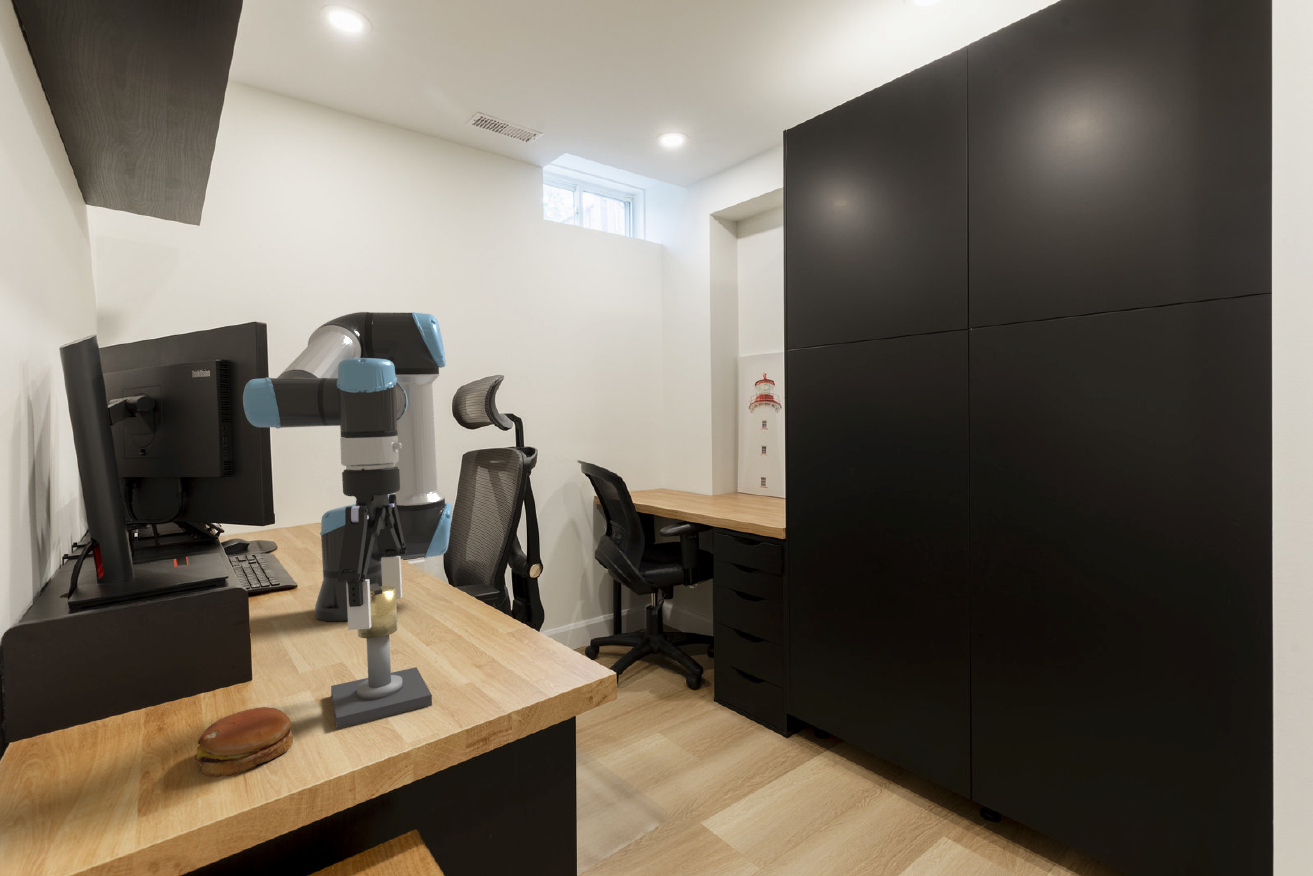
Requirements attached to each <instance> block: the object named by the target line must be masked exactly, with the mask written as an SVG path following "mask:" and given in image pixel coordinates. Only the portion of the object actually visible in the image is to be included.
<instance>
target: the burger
mask: <svg viewBox="0 0 1313 876" xmlns="http://www.w3.org/2000/svg"><path fill="white" fill-rule="evenodd" d="M291 727H292V721H291V718H289V716H288V715H287V714H286V713H285V712H284V711H282V710H280V709H277V708H274V707H268V706H263V707H254V708H250V709H245V710H240V711H238V712H235V713H232V714H229V715H226V716H223V717H222V718H220V719H217V720H216V721H215V722H212V723H211V725H209V726H208V727H207V728H206V729H205V730H204V731H203V733H202V734H201V735H200V737H199V739H198V741H197V744H198V746H197V748H196V750H197V752H196V754H195V755H194V761H196V762H197V763H198V764H199V765H200V771H201V773H202V774H204V775H206V776H210V777H222V776H225V777H227V776H231V775H237V774H240V773H244V772H245V771H248V770H250V769H253V768H255V767H256V766H257V765H261V764H263V763H266V762H271V760H273V759H276V758H277V757H279V756H280V755H283V754H284V753H287V751H289V750H290V748H291V747H292V745H293V740H294V738H293V732H292V731H291Z"/></svg>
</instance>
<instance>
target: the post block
mask: <svg viewBox="0 0 1313 876" xmlns="http://www.w3.org/2000/svg"><path fill="white" fill-rule="evenodd" d="M390 644H391V643H390V635H387V636H384V637H379V638H366V655H367V656H366V657H367V658H366V659H367V660H366V661H367V677H365V678H360V679H357V680H351V681H349V682H342V683H338V684H333V685H331V686H330V691H331V692H330V693H331V696H330V697H331V702H332V706H333V707H332V708H333V714H334V719H335V727H336V730H340V729H344V728H347V727H351V726H356V725H360V724H363V723H367V722H371V721H374V720H379V719H384V718H387V717H390V716H394V715H398V714H402V713H407V712H412V711H414V710H419V709H422V708H426V707H430V706H432V705H433V698H432V697H433V694H432V693H431V691H430V689H429V687H428V685H427V684H426V682H425V680H424V678H423V677H422V675H421V673H420V671H419V669H418V667H417V666H416V667H411V668H406V669H401V670H397V671H392V670H391V668H392V667H391V645H390Z"/></svg>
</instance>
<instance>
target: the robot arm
mask: <svg viewBox="0 0 1313 876" xmlns="http://www.w3.org/2000/svg"><path fill="white" fill-rule="evenodd" d="M442 337H443V336H442V333H441V327H440V324H439V321H438V319H437V318H436V317H435V316H434V315H433V314H430V313H422V312H414V311H413V312H374V311H373V312H369V311H359V312H358V311H357V312H352V313H348V314H345V315H341V316H339V317H336V318H334V319H331V320H329V321H327V322H325V323H323V324H321V326H319V327H318V328H316V329H315V330H314V331H313V332H312V333H311V334H310V336H309V337H308V341H307V347H306V348H305V349H304V350H303V351H302V352H301V353H300V354H299V355H298V356H297V357H296V358H295V359H294V360H293V361H292V362H291V363H290V364H289V365H288V366H287V367H286V368H285V369H284V371H282V372H281V373H280V374H279V375H278V376H277V378H276V377H269V376H268V377H267V376H266V377H264V378H254V379H250V380H249V381H248V382H246V384H245V386H244V390H243V393H242V394H243V395H242V404H243V410H244V414H245V417H246V420H247V422H249V424H251V425H252V426H254V427H255V428H275V429H277V430H278V429H282V428H285V429H286V428H304V427H305V428H309V427H337V426H338V427H339V428H340V443H339V444H340V464H341V465H342V466H343V467H346V469H345V468H344V469H343V471H342V472H341V477H342V478H341V479H342V493H343V494H344V496H347V497H354V498H355V503H354V504H350V505H345V506H341V507H337V508H333V509H329V510H328V511H325V512H324V513H323V515H322V517H321V523H320V527H321V528H320V530H321V531H320V533H319V534H320V536H321V537H320V539H321V556H322V561H321V562H322V582H321V587H320V589H319V592H318V596H317V600H316V602H315V606H314V613H315V618H316V619H318V620H321V621H325V622H344V621H347V628H348V630H347V631H352V630H358V629H370V628H371V606H370V584H376V583H378V585H379V586H391V587H395V588H396V600H398V599H402V598H403V581H402V560H410V559H422V558H424V559H428V558H430V557H431V558H432V557H440V556H442V555H444V554H446V553H447V552H448V548H449V544H450V543H449V542H450V536H451V528H452V527H451V525H452V515H453V505H452V504H451V503H449V502H447V503H446V498H445V497H446V496H445V495H444V494H443V493H442V492H441V491H440V490H438V481H437V480H438V475H437V455H436V452H437V451H436V437H435V436H436V435H435V434H436V433H435V417H434V415H435V414H434V411H435V410H434V395H433V393H434V392H433V383H434V381H436V380H437V378H439V376H440V369H442V368H444V367H446V366H447V365H446V357H445V355H446V354H445V348H444V341H443V338H442Z"/></svg>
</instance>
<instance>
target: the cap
mask: <svg viewBox="0 0 1313 876" xmlns="http://www.w3.org/2000/svg"><path fill="white" fill-rule="evenodd" d="M370 606H371V628H370V629H357V637H358V638H360V639H367V638H379V637H384V636H387V635H389V636H391V635H392V634H394V633H396V632H397V631H398V616H397V615H398V614H397V611H398V610H397V599H396V588H395V587H391V586H379V585H378V583H376V584H370Z"/></svg>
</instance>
